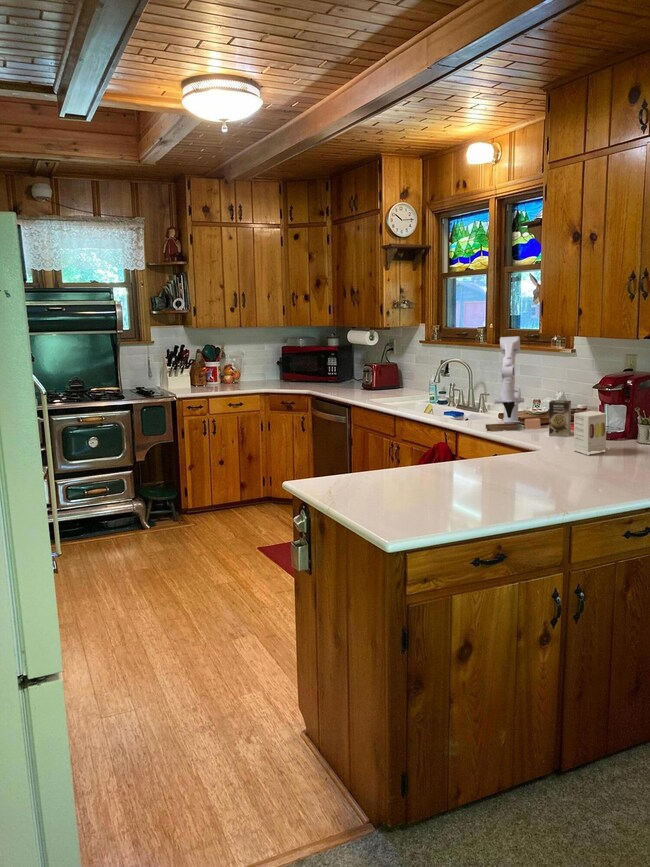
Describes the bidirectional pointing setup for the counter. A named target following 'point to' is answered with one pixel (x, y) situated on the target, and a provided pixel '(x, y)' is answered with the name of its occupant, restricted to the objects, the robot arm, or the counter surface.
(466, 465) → the counter surface
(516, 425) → the walnut chute
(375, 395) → the counter surface
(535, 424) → the block
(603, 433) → the supplement box
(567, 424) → the grey rectangular box
